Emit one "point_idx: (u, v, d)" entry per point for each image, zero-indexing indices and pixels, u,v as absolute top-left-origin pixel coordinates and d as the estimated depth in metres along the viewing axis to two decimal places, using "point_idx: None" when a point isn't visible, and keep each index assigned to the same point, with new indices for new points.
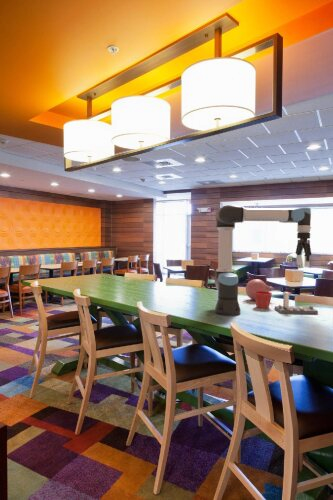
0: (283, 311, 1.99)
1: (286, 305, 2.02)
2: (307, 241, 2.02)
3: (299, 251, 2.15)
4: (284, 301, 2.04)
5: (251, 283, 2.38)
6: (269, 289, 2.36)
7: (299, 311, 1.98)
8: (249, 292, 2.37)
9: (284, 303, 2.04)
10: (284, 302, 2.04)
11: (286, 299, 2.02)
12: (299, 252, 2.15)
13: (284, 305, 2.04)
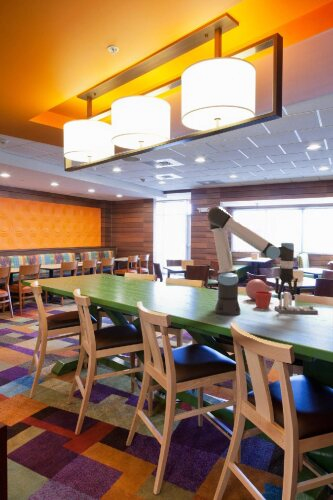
0: (283, 311, 1.99)
1: (286, 305, 2.02)
2: (275, 279, 2.04)
3: (289, 289, 2.04)
4: (284, 301, 2.04)
5: (251, 283, 2.38)
6: (269, 289, 2.36)
7: (299, 311, 1.98)
8: (249, 292, 2.37)
9: (284, 303, 2.04)
10: (284, 302, 2.04)
11: (286, 299, 2.02)
12: (290, 291, 2.04)
13: (284, 305, 2.04)
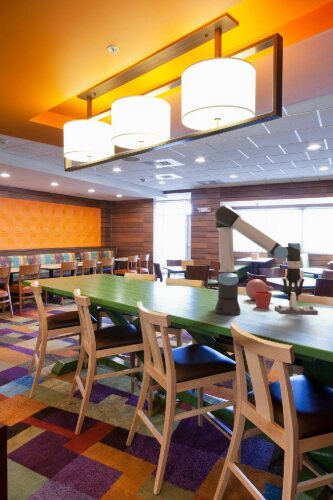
0: (283, 311, 1.99)
1: (292, 306, 2.02)
2: (283, 280, 2.04)
3: (295, 289, 2.04)
4: None
5: (251, 283, 2.38)
6: (269, 289, 2.36)
7: (299, 311, 1.98)
8: (249, 292, 2.37)
9: None
10: None
11: (292, 299, 2.02)
12: (295, 291, 2.04)
13: None
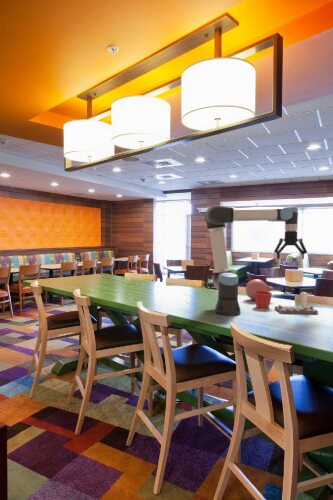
0: (283, 311, 1.99)
1: (304, 306, 2.02)
2: (280, 239, 2.12)
3: (299, 250, 2.12)
4: (302, 301, 2.04)
5: (251, 283, 2.38)
6: (269, 289, 2.36)
7: (299, 311, 1.98)
8: (249, 292, 2.37)
9: (302, 303, 2.04)
10: (302, 302, 2.04)
11: (304, 300, 2.02)
12: (300, 251, 2.12)
13: (302, 305, 2.04)
